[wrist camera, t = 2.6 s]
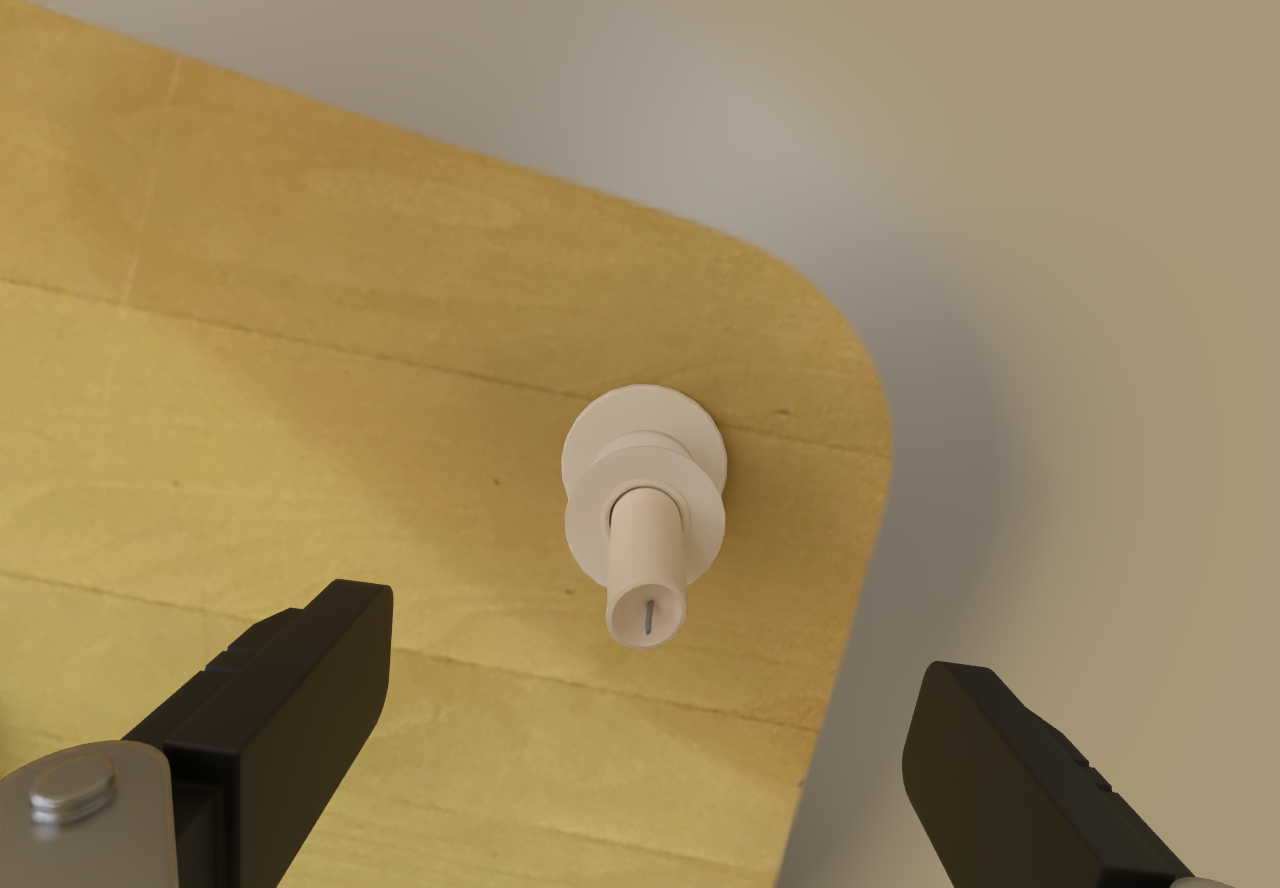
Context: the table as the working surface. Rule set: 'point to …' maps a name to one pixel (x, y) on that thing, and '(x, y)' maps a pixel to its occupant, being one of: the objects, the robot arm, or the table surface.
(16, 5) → the table surface
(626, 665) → the table surface
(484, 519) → the table surface
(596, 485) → the candle
